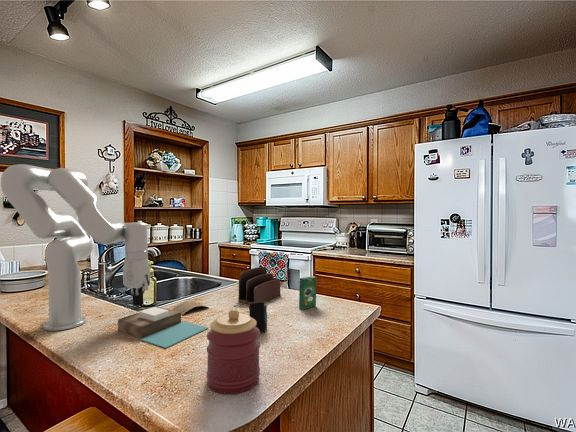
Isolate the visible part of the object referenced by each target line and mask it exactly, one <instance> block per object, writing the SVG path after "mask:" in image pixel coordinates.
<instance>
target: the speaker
mask: <svg viewBox="0 0 576 432" xmlns="http://www.w3.org/2000/svg"><path fill="white" fill-rule="evenodd" d="M248 308H249V309H248V310H249V311H248V313H249V316H250V317H251V318H253V319H255V320H256V322H257V324H256V327H257V328H258V329H259V330H260V334H264V333H266V329H267V328H268V311H267V309H268V308H267V304H266V303H265V301H264V302H256V303H249V304H248Z"/></svg>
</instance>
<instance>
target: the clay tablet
mask: <svg viewBox="0 0 576 432" xmlns="http://www.w3.org/2000/svg"><path fill="white" fill-rule="evenodd" d="M195 307H197V308H198V307H205V308H207V306H206V305H203V304H201V303H199V302H196V301H190V300H189V301H184V302H181V303H178V304H177V305H175V306H174V307H173V308H172V309H171V310H174V311H178V312H181V316H184V314H185V313H186V312H189V311H190V310H192V309H194V308H195Z"/></svg>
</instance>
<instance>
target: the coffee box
mask: <svg viewBox="0 0 576 432" xmlns="http://www.w3.org/2000/svg"><path fill="white" fill-rule="evenodd" d="M316 306H317V277H316V276H306V277H301V278H300V277H299V293H298V308H299V309H300V310H307V309H309V308H314V307H316Z"/></svg>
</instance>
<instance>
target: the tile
mask: <svg viewBox="0 0 576 432" xmlns="http://www.w3.org/2000/svg"><path fill="white" fill-rule="evenodd" d="M156 307H157V306H153V307H152V306H151V307H149V308H147V309H144V310H143V309H142V310H140V311H139V312H138V313H139V317H140V318H144V319H147V320H151V321H157V320H160V319H163V318H165V317H168V316H169V310H165V309H166V308H165V309H161V308H162V307H161V308H156Z"/></svg>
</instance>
